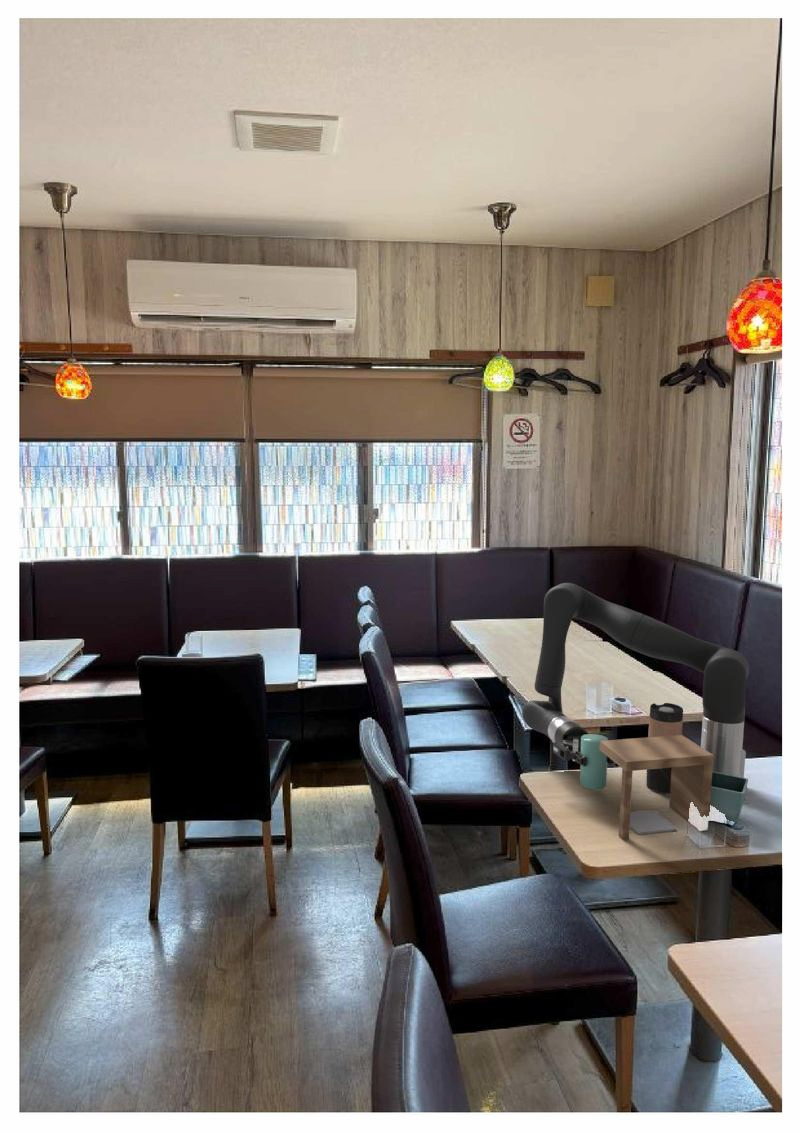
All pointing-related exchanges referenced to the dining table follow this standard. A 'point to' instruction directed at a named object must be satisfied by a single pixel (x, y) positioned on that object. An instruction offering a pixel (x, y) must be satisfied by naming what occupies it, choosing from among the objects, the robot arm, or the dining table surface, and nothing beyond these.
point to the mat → (649, 822)
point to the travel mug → (663, 724)
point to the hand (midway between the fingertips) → (598, 761)
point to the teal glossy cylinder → (593, 763)
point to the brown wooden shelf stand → (664, 752)
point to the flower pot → (728, 794)
